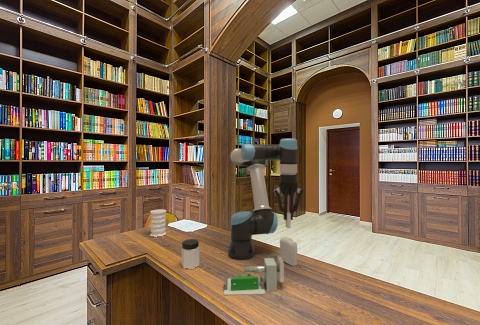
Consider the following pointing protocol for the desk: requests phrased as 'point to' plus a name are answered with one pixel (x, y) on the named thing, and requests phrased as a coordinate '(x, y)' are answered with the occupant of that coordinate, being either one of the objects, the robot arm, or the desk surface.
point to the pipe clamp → (244, 283)
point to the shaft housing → (270, 274)
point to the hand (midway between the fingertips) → (288, 227)
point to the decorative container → (158, 222)
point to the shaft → (263, 269)
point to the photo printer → (288, 251)
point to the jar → (190, 253)
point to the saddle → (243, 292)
